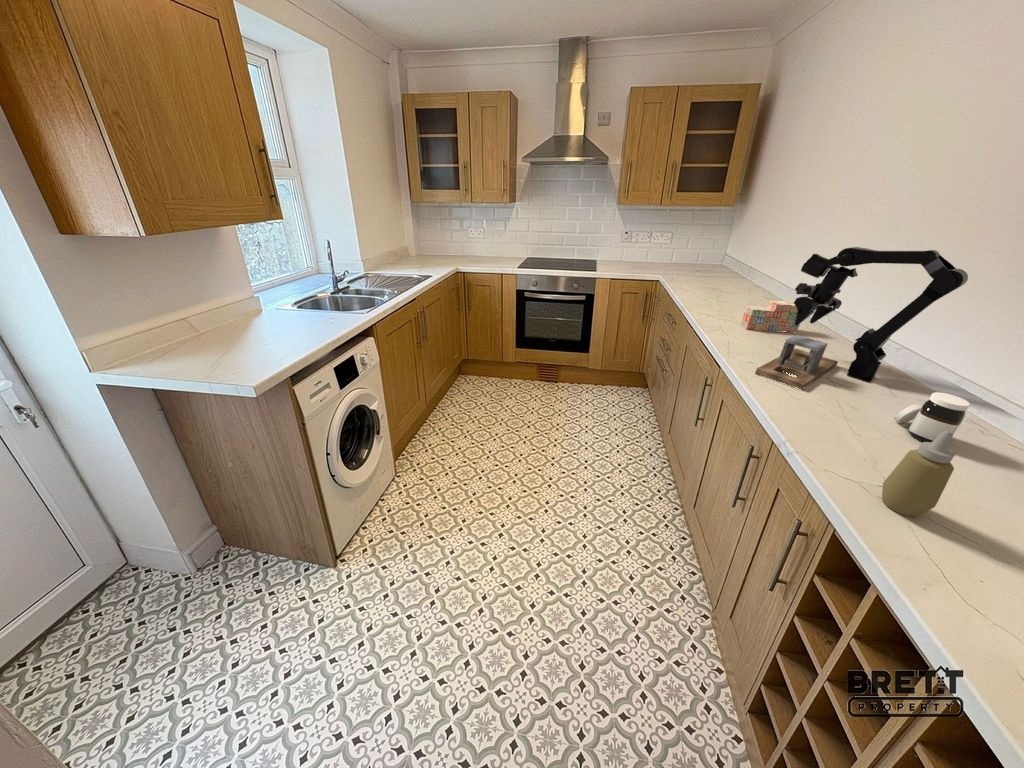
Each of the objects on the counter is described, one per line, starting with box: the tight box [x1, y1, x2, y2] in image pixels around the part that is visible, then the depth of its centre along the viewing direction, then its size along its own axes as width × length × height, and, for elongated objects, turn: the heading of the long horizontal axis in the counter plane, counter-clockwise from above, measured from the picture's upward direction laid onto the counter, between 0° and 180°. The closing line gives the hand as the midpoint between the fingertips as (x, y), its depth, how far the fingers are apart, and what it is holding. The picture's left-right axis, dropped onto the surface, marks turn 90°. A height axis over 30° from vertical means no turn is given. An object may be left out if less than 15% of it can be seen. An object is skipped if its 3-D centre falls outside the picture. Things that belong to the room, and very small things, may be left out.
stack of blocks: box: [740, 300, 801, 332], centre depth 175 cm, size 21×6×12 cm, turn 85°
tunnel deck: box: [754, 334, 839, 390], centre depth 137 cm, size 14×32×11 cm, turn 128°
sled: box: [784, 339, 822, 371], centre depth 140 cm, size 6×18×6 cm, turn 128°
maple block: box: [790, 352, 810, 365], centre depth 137 cm, size 4×4×4 cm
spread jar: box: [893, 391, 971, 443], centre depth 104 cm, size 12×11×12 cm
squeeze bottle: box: [881, 431, 956, 518], centre depth 77 cm, size 8×8×18 cm
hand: (803, 323), depth 147 cm, fingers open, 9 cm apart
